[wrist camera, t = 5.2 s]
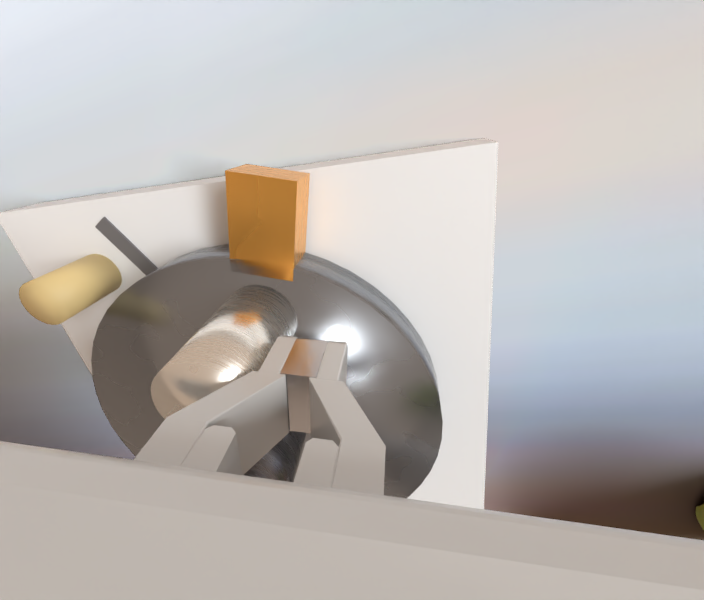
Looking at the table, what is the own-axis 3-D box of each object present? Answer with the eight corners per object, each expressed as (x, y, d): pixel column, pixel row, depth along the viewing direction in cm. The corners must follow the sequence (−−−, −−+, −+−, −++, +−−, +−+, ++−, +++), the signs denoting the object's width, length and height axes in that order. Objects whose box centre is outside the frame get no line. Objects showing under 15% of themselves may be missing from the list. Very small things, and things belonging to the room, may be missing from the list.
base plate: (476, 484, 20) (495, 578, 16) (189, 478, 23) (144, 556, 19) (483, 138, 12) (527, 149, 8) (42, 202, 15) (-91, 234, 11)
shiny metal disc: (477, 475, 16) (510, 631, 11) (228, 513, 20) (173, 640, 15) (337, 119, 10) (277, 122, 5) (19, 275, 14) (-184, 360, 9)
